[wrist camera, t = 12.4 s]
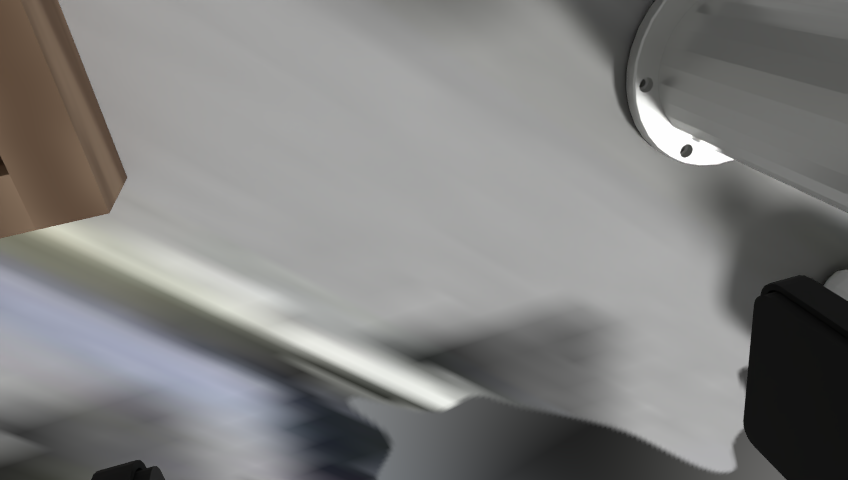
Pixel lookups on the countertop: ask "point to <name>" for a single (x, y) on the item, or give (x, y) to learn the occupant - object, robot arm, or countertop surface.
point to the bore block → (49, 125)
